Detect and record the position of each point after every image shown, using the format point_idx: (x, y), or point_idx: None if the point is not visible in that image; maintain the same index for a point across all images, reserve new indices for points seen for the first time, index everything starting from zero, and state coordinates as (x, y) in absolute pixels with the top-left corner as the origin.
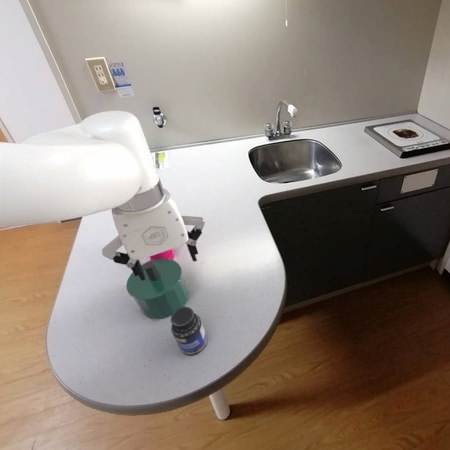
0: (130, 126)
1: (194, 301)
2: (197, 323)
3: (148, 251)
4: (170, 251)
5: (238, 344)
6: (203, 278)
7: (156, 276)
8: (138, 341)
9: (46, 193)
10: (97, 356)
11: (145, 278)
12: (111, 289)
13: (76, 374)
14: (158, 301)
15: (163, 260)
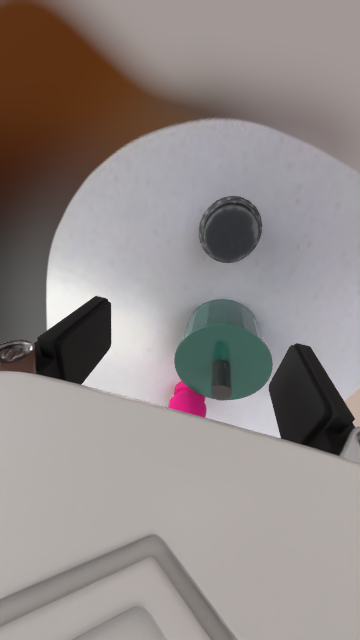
0: None
1: (188, 299)
2: (210, 211)
3: (299, 520)
4: (176, 393)
5: (169, 164)
6: (159, 326)
7: (218, 364)
8: (290, 292)
9: None
10: (348, 310)
11: (290, 346)
12: (268, 392)
13: None
14: (239, 322)
15: (192, 385)
